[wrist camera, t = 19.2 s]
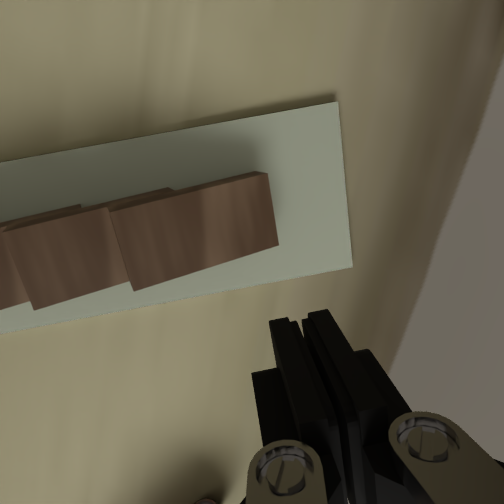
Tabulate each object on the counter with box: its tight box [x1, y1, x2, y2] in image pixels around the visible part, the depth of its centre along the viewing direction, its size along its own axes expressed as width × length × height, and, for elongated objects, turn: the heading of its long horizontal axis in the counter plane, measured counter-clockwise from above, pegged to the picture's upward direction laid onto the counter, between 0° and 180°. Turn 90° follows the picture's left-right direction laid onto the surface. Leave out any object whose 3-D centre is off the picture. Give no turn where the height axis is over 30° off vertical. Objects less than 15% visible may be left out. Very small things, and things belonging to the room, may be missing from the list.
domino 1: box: [0, 204, 82, 310], centre depth 26 cm, size 2×5×10 cm
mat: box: [0, 101, 353, 334], centre depth 28 cm, size 32×12×1 cm, turn 100°
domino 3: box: [107, 171, 279, 292], centre depth 26 cm, size 2×5×10 cm
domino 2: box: [2, 187, 175, 311], centre depth 26 cm, size 2×5×10 cm
